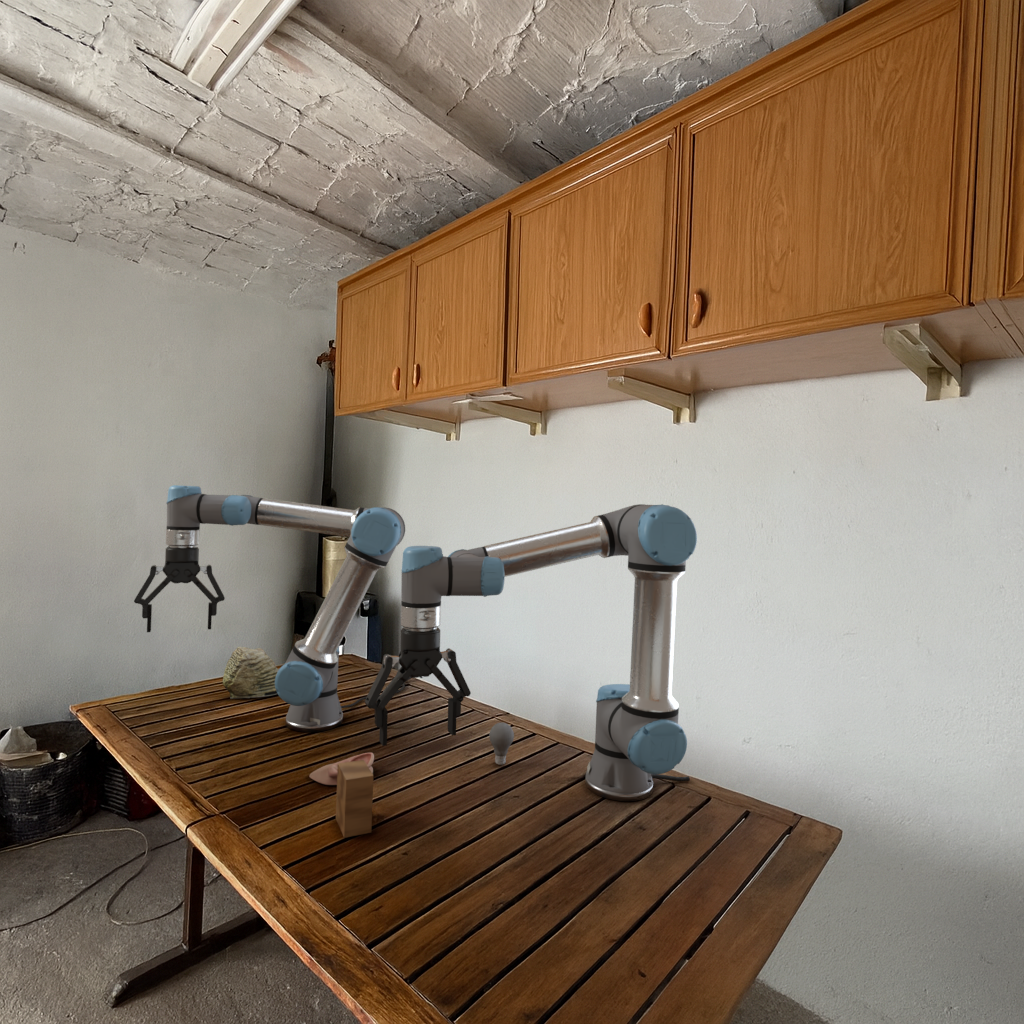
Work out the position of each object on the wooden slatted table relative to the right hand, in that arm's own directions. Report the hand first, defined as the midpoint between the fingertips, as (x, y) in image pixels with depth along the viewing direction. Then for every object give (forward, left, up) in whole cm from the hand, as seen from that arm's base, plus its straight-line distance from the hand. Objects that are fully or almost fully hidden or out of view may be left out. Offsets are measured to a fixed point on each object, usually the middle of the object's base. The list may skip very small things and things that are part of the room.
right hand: (418, 738), depth 121 cm
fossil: (+29, -94, -18) cm, 100 cm away
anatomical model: (+10, -29, -18) cm, 35 cm away
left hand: (+47, -62, +10) cm, 79 cm away
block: (+11, -6, -18) cm, 22 cm away
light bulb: (-27, -25, -18) cm, 41 cm away
